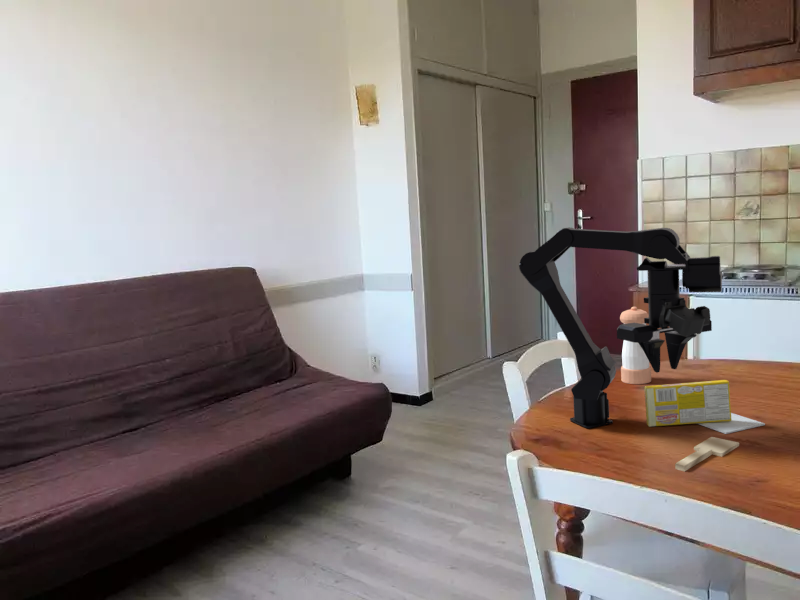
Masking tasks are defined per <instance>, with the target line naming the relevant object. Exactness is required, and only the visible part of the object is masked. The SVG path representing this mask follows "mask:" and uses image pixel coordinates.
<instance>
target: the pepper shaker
mask: <svg viewBox="0 0 800 600" xmlns="http://www.w3.org/2000/svg"><path fill="white" fill-rule="evenodd" d="M644 318H649V312H647V311H646V310H643V309H641V308H640V309H638V307H637V306H632V307H631V308H630V309H626V310H624V311H622V312H621V314H620V316H619V320H620V322H621V324H628V323H639V324H644V325H647V323H644ZM621 359H622V360H621V361H622V365H621V366H620V376H621V377H620V379H621V382H622V383H625V384H631V385H645V384H649V383H651V382H652V368H651V367H652V366H650V362H649V360H648V358H647V356H646V354H645V353H644V351H643V349H642V348H641V346H640V345H639V343H634V342H630V341H626V340H623V343H622V352H621Z"/></svg>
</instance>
